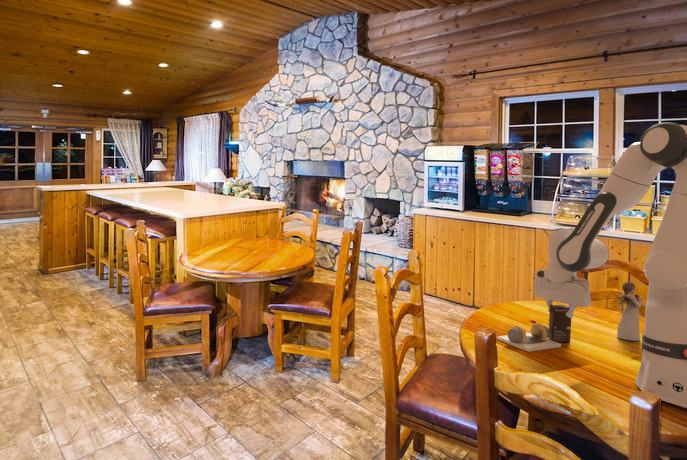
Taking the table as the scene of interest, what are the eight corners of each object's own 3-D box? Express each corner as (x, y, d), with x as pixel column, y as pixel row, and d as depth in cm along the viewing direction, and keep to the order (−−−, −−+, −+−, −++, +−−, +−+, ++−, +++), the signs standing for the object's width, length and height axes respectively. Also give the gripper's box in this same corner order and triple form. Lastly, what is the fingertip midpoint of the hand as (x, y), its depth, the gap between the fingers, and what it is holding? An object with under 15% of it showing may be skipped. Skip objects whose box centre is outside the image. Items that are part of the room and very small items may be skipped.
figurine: (644, 340, 151) (646, 283, 150) (630, 345, 145) (632, 285, 144) (614, 333, 159) (616, 279, 158) (599, 337, 154) (602, 281, 153)
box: (552, 342, 147) (553, 307, 147) (548, 338, 151) (548, 304, 151) (571, 343, 146) (572, 307, 146) (566, 339, 151) (567, 305, 151)
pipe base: (560, 346, 143) (561, 328, 142) (528, 351, 137) (529, 332, 137) (527, 335, 155) (528, 318, 155) (497, 339, 150) (497, 321, 150)
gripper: (596, 278, 140) (594, 321, 140) (544, 270, 158) (543, 307, 159) (582, 279, 137) (580, 323, 138) (531, 271, 156) (530, 309, 157)
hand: (560, 314), depth 149 cm, fingers open, 6 cm apart
